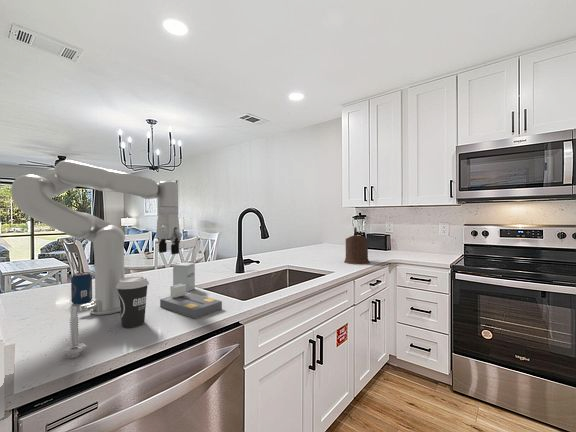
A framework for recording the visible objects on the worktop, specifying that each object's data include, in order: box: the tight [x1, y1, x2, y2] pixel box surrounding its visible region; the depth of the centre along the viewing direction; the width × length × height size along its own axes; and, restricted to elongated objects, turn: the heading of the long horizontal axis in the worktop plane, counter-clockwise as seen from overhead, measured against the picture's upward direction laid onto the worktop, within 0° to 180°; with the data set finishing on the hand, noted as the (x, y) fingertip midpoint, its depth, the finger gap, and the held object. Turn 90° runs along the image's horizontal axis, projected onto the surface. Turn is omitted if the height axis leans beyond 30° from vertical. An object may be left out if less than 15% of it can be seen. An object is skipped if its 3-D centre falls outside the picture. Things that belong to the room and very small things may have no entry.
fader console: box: [159, 291, 223, 320], centre depth 108 cm, size 12×22×3 cm, turn 54°
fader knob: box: [170, 284, 186, 298], centre depth 113 cm, size 5×3×4 cm, turn 144°
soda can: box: [70, 271, 93, 306], centre depth 116 cm, size 7×7×12 cm
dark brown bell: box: [343, 226, 370, 266], centre depth 208 cm, size 18×24×25 cm
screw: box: [62, 305, 87, 359], centre depth 72 cm, size 13×5×5 cm
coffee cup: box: [116, 275, 150, 329], centre depth 93 cm, size 10×10×15 cm
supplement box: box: [172, 262, 196, 293], centre depth 133 cm, size 7×7×13 cm
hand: (168, 253), depth 117 cm, fingers open, 8 cm apart
